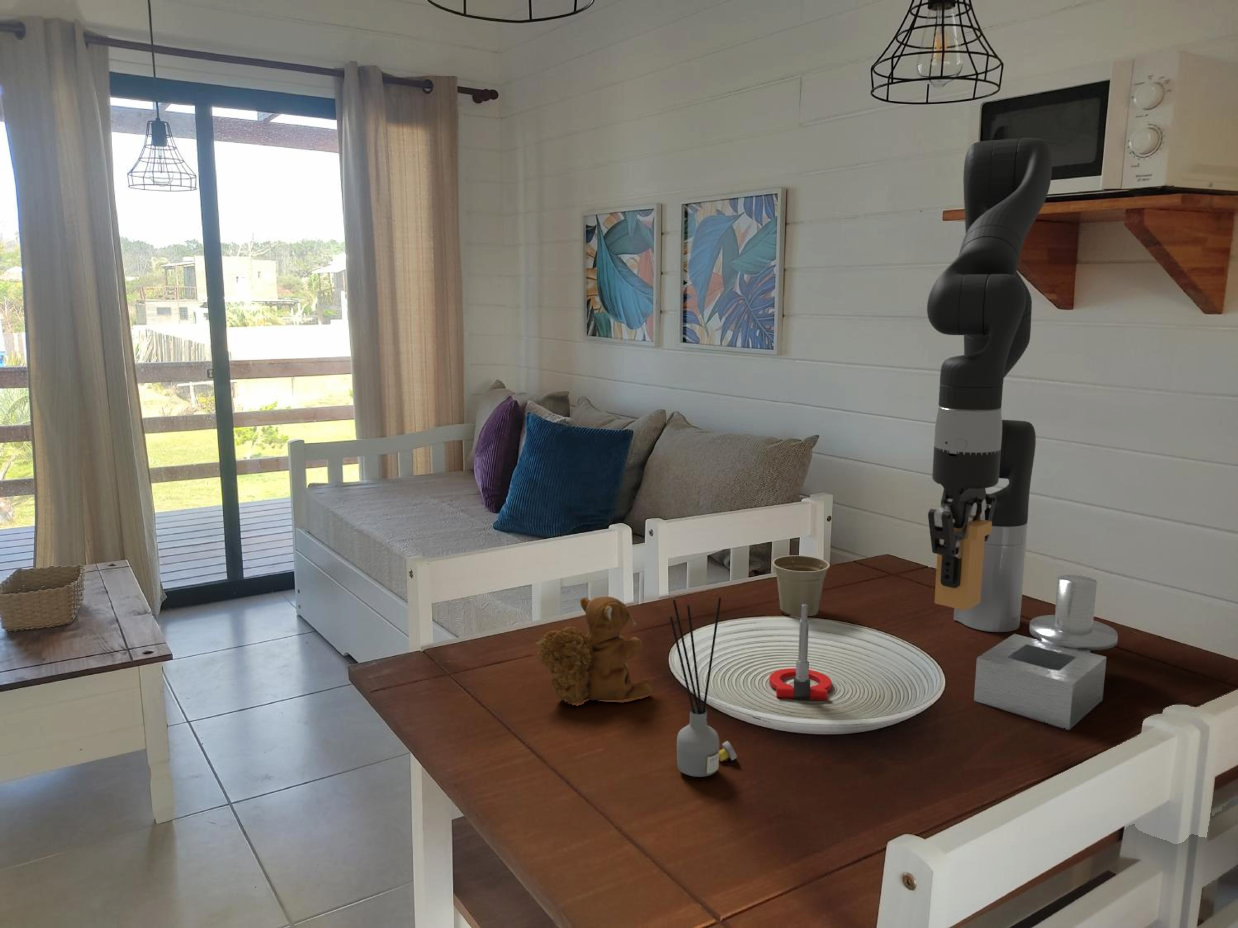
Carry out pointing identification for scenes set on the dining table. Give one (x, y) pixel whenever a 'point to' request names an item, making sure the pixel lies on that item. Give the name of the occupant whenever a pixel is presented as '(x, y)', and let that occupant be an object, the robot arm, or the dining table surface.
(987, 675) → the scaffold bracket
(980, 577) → the wedge pin
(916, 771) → the dining table surface
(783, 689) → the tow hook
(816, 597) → the flower pot
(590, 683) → the stuffed squirrel
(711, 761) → the reed diffuser
